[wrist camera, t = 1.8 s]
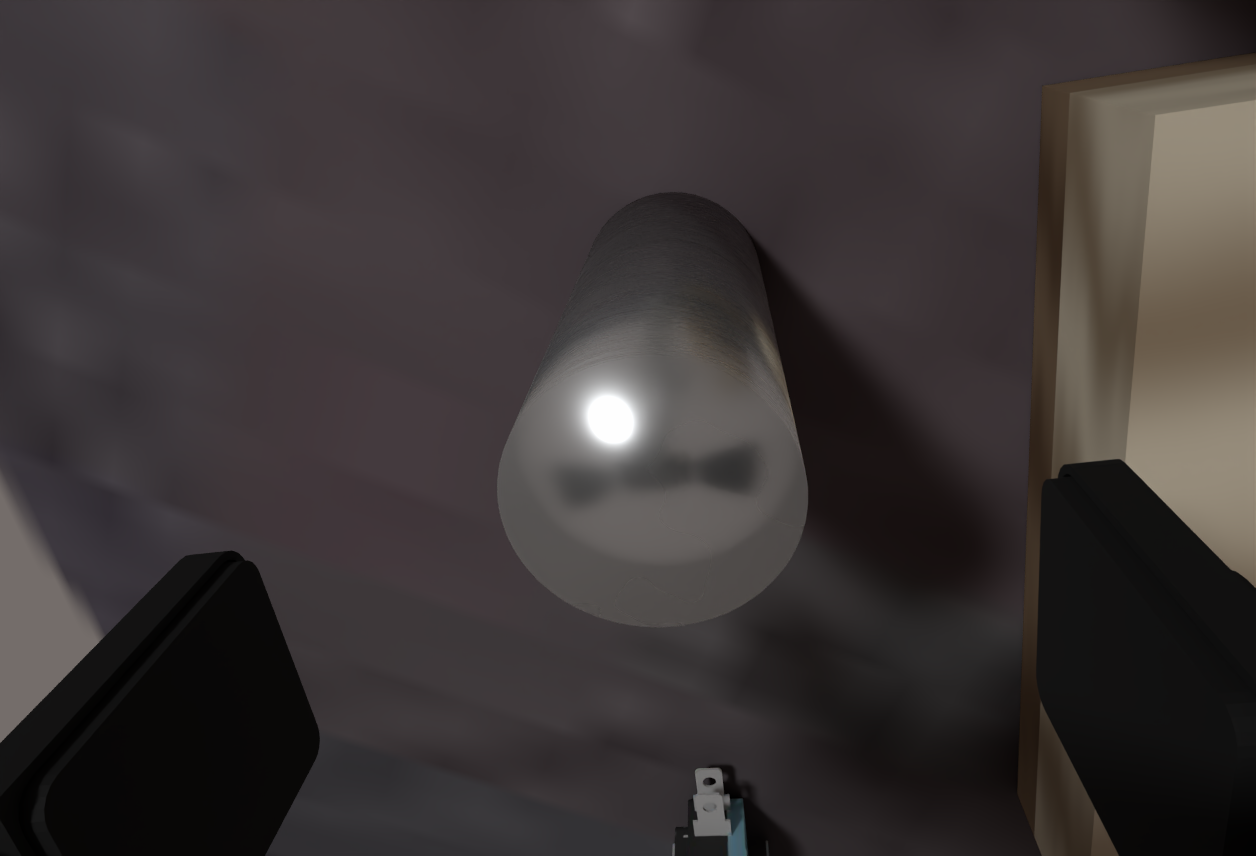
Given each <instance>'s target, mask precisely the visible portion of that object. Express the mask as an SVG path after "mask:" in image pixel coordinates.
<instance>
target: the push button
mask: <svg viewBox="0 0 1256 856" xmlns="http://www.w3.org/2000/svg"><path fill="white" fill-rule="evenodd" d="M695 776H696V784H697V791H698V793H697V794H696V795H693V799H694V800H689V801H688V827H676V829H675V843H673V854H672V856H748V846H747V835H746V825H745V814H744V804H743V798H739V799H730V796H729V794H724V787H723V778H722V770H721V769H720V768H698V769H697V770H695ZM707 777H711V778H714V779H715V780H716V783H715V784H714V785H706V784H704V783H703V780H704V779H705V778H707ZM766 853H767V856H769V847H768V841H766Z"/></svg>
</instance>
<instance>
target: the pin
mask: <svg viewBox="0 0 1256 856" xmlns="http://www.w3.org/2000/svg"><path fill="white" fill-rule="evenodd" d="M497 497H498V506H499V511H500V517H501V520H502V523H503V526H504V529H505V532H506V535H507V537H508V539H509V541H510V543H511V545H512V547H513V549H514V551H515V552H516V554H517V555H518V557H519V558H520V560H521V561H522V563H523V564H524V566H525V567H526V568H527V569H528V570H529V571H530V572H531V574H532V575H533V576H534V577H535V578H536V579H537V580H538V581H539V582H540V583H541V584H543V585H544V586H545V587H546V588H547V589H548V590H549V591H551V592H552V593H554V594H555V595H556V596H558V597H559V598H561V599H562V600H563V601H565V602H567V603H569V604H570V605H572V606H574V607H576V608H578V609H580V610H582V611H584V612H586V613H589V614H591V615H594V616H596V617H599V618H602V619H606V620H609V621H612V622H616V623H621V624H627V625H632V626H642V627H674V626H682V625H689V624H694V623H698V622H702V621H706V620H710V619H712V618H715V617H718V616H720V615H723V614H726V613H728V612H730V611H732V610H734V609H736V608H738V607H740V606H742V605H743V604H745V603H746V602H748V601H749V600H751V599H752V598H754V597H755V596H757V595H758V594H759V593H760V592H762V591H763V590H764V589H765V588H766V587H767V586H768V585H770V584H771V583H772V582H773V580H774V579H775V578H776V577H777V576H778V575H779V574H780V573H781V571H782V570H783V569H784V567H785V566H786V564H787V563H788V561H789V560H790V558H791V557H792V555H793V554H794V551H795V549H796V547H797V545H798V543H799V541H800V539H801V535H802V532H803V529H804V526H805V522H806V516H807V509H808V484H807V478H806V472H805V466H804V462H803V457H802V453H801V448H800V444H799V439H798V435H797V430H796V426H795V421H794V417H793V412H792V408H791V403H790V399H789V394H788V390H787V385H786V381H785V376H784V372H783V367H782V363H781V358H780V354H779V349H778V345H777V340H776V336H775V331H774V327H773V322H772V318H771V313H770V309H769V304H768V300H767V295H766V291H765V286H764V282H763V277H762V273H761V268H760V264H759V259H758V256H757V253H756V249H755V246H754V244H753V242H752V240H751V238H750V236H749V234H748V233H747V231H746V230H745V228H744V227H743V226H742V224H741V223H740V222H739V221H738V220H737V219H736V218H735V217H734V216H733V215H732V214H731V213H730V212H729V211H727V210H726V209H724V208H723V207H721V206H720V205H718V204H717V203H715V202H713V201H711V200H708V199H706V198H703V197H700V196H697V195H693V194H688V193H678V192H668V193H658V194H654V195H649V196H646V197H643V198H641V199H638V200H636V201H634V202H632V203H630V204H628V205H626V206H625V207H624V208H622V209H621V210H619V211H618V212H617V213H616V214H615V215H614V216H612V217H611V218H610V219H609V220H608V222H607V223H606V224H605V225H604V226H603V228H602V229H601V231H600V232H599V234H598V235H597V237H596V239H595V241H594V243H593V245H592V248H591V250H590V252H589V255H588V257H587V259H586V261H585V264H584V266H583V268H582V271H581V273H580V275H579V277H578V280H577V282H576V284H575V287H574V289H573V291H572V294H571V296H570V298H569V300H568V303H567V305H566V307H565V310H564V312H563V314H562V316H561V319H560V321H559V323H558V326H557V328H556V330H555V332H554V335H553V337H552V339H551V342H550V344H549V346H548V349H547V351H546V353H545V355H544V358H543V360H542V362H541V365H540V367H539V369H538V371H537V374H536V376H535V378H534V381H533V383H532V385H531V388H530V390H529V392H528V394H527V397H526V399H525V401H524V404H523V406H522V408H521V410H520V413H519V415H518V417H517V420H516V422H515V424H514V426H513V429H512V431H511V433H510V436H509V438H508V440H507V443H506V445H505V447H504V450H503V453H502V457H501V461H500V464H499V471H498V479H497Z"/></svg>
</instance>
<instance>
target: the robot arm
mask: <svg viewBox="0 0 1256 856" xmlns="http://www.w3.org/2000/svg"><path fill="white" fill-rule="evenodd" d="M1036 680H1037V687H1038V692H1039V696H1040V699H1041V702H1042V705H1043V707H1044V710H1045V712H1046V714H1047V715H1048V717H1049V719H1050V721H1051V723H1052V725H1053V727H1054V729H1055V731H1056V733H1057V735H1058V737H1059V739H1060V741H1061V743H1062V745H1063V747H1064V749H1065V751H1066V753H1067V755H1068V757H1069V759H1070V761H1071V763H1072V765H1073V767H1074V769H1075V770H1076V772H1077V774H1078V776H1079V778H1080V780H1081V782H1082V784H1083V786H1084V788H1085V790H1086V792H1087V794H1088V796H1089V798H1090V800H1091V802H1092V804H1093V806H1094V808H1095V810H1096V812H1097V814H1098V816H1099V818H1100V820H1101V822H1102V824H1103V826H1104V827H1105V829H1106V831H1107V833H1108V835H1109V837H1110V839H1111V841H1112V843H1113V845H1114V847H1115V849H1116V851H1117V853H1118V855H1119V856H1256V588H1255V587H1254V586H1253V585H1252V584H1251V583H1250V582H1249V581H1248V580H1247V579H1246V578H1245V577H1243V576H1242V575H1241V574H1239V573H1238V572H1236V571H1233V570H1231V569H1230V568H1229V567H1228V566H1227V565H1226V564H1225V563H1224V562H1223V561H1222V560H1221V559H1220V558H1219V557H1218V556H1217V555H1216V554H1215V553H1214V552H1213V551H1212V550H1211V549H1210V548H1209V547H1208V546H1207V545H1206V544H1205V543H1204V542H1203V541H1202V540H1201V539H1200V538H1199V537H1198V536H1197V535H1196V534H1195V533H1194V532H1193V531H1192V530H1191V529H1190V528H1189V527H1188V526H1187V525H1186V524H1185V523H1184V522H1183V521H1182V520H1181V519H1180V518H1179V517H1178V516H1177V515H1176V514H1175V513H1174V512H1173V511H1172V509H1171V508H1170V507H1169V506H1168V505H1167V504H1166V503H1165V502H1164V501H1163V500H1162V499H1161V498H1160V497H1159V496H1158V495H1157V494H1156V493H1155V492H1154V491H1153V490H1152V489H1151V488H1150V487H1149V486H1148V485H1147V484H1146V483H1145V482H1144V481H1143V480H1142V479H1141V478H1140V477H1139V476H1138V475H1137V474H1136V473H1135V472H1134V471H1133V470H1132V469H1131V468H1130V467H1129V466H1128V465H1127V464H1126V463H1125V462H1124V461H1122V460H1121V459H1112V460H1102V461H1092V462H1083V463H1073V464H1064V465H1063V466H1062V467H1061V468H1060V471H1059V474H1058V478H1054V479H1046V480H1045V481H1044V483H1043V486H1042V493H1041V523H1040V557H1039V590H1038V624H1037V657H1036ZM319 742H320V737H319V729H318V726H317V723H316V720H315V718H314V715H313V712H312V710H311V707H310V704H309V702H308V699H307V697H306V694H305V691H304V689H303V686H302V683H301V681H300V678H299V675H298V673H297V670H296V668H295V665H294V662H293V660H292V657H291V654H290V652H289V649H288V647H287V644H286V641H285V639H284V636H283V633H282V631H281V628H280V625H279V623H278V620H277V618H276V615H275V612H274V610H273V607H272V604H271V602H270V599H269V597H268V594H267V591H266V589H265V586H264V583H263V581H262V578H261V575H260V573H259V571H258V569H257V567H256V566H255V565H254V564H253V563H252V562H250V561H245V560H244V558H243V557H242V556H241V555H240V554H239V553H237V552H235V551H224V552H214V553H204V554H195V555H188V556H185V557H184V558H182V559H181V560H180V561H179V562H178V563H177V564H176V565H175V566H174V567H173V568H172V569H171V570H170V571H169V572H168V573H167V574H166V575H165V576H164V577H163V578H162V579H161V580H160V581H159V582H158V583H157V584H156V585H155V586H154V587H153V588H152V589H151V590H150V591H149V592H148V593H147V594H146V595H145V596H144V597H143V598H142V599H141V600H140V601H139V602H138V603H137V604H136V605H135V606H134V607H133V608H132V609H131V610H130V612H129V613H128V614H127V615H126V616H125V617H124V618H123V619H122V620H121V621H120V622H119V623H118V624H117V625H116V626H115V627H114V628H113V629H112V630H111V631H110V632H109V633H108V634H107V635H106V636H105V637H104V638H103V639H102V640H101V641H100V642H99V643H98V644H97V645H96V646H95V647H94V648H93V649H92V650H91V651H90V652H89V653H88V654H87V655H86V656H85V657H84V658H83V659H82V660H81V661H80V662H79V663H78V665H76V666H75V668H74V669H73V670H72V671H71V672H70V673H69V674H68V675H67V676H66V677H65V678H64V679H63V680H62V681H61V682H60V683H59V684H58V685H57V686H56V687H55V688H54V689H53V690H52V691H51V692H50V693H49V694H48V695H47V696H46V697H45V698H44V699H43V700H42V701H41V702H40V703H39V704H38V705H37V706H36V707H35V708H34V709H33V710H32V711H31V712H30V713H29V715H27V716H26V718H25V719H24V720H22V721H21V722H20V723H19V725H18V726H17V727H16V728H15V729H14V730H13V731H12V732H11V733H10V734H9V735H8V736H7V737H6V738H5V739H4V740H3V741H2V742H1V743H0V856H265V854H266V853H267V851H268V849H269V847H270V845H271V843H272V841H273V839H274V837H275V835H276V834H277V832H278V830H279V828H280V826H281V824H282V822H283V820H284V818H285V816H286V815H287V813H288V811H289V809H290V807H291V805H292V803H293V801H294V799H295V798H296V796H297V794H298V792H299V790H300V788H301V786H302V784H303V782H304V780H305V779H306V777H307V775H308V773H309V771H310V769H311V767H312V765H313V763H314V761H315V759H316V757H317V754H318V750H319Z"/></svg>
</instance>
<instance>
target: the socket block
mask: <svg viewBox="0 0 1256 856" xmlns="http://www.w3.org/2000/svg"><path fill="white" fill-rule="evenodd" d="M1112 459H1121V460H1122V461H1124V462H1125V463H1126V464H1127V465H1128V466H1129V467H1130V468H1131V469H1132V470H1133V471H1134V472H1135V473H1136V474H1137V475H1138V476H1139V477H1140V478H1141V479H1142V480H1143V481H1144V482H1145V483H1146V484H1147V485H1148V486H1149V487H1150V488H1151V489H1152V490H1153V491H1154V492H1155V493H1156V494H1157V495H1158V496H1159V497H1160V498H1161V499H1162V500H1163V501H1164V502H1165V503H1166V504H1167V505H1168V506H1169V507H1170V508H1171V509H1172V511H1173V512H1174V513H1175V514H1176V515H1177V516H1178V517H1179V518H1180V519H1181V520H1182V521H1183V522H1184V523H1185V524H1186V525H1187V526H1188V527H1189V528H1190V529H1191V530H1192V531H1193V532H1194V533H1195V534H1196V535H1197V536H1198V537H1199V538H1200V539H1201V540H1202V541H1203V542H1204V543H1205V544H1206V545H1207V546H1208V547H1209V548H1210V549H1211V550H1212V551H1213V552H1214V553H1215V554H1216V555H1217V556H1218V557H1219V558H1220V559H1221V560H1222V561H1223V562H1224V563H1225V564H1226V565H1227V566H1228V567H1229V568H1230V569H1231V570H1233V571H1236V572H1238V573H1239V574H1241V575H1242V576H1243V577H1245V578H1246V579H1247V580H1248V581H1249V582H1250V583H1251V584H1252V585H1253V586H1254V587H1255V588H1256V53H1249V54H1243V55H1236V56H1230V57H1224V58H1217V59H1211V60H1204V61H1198V62H1192V63H1185V64H1179V65H1172V66H1166V67H1160V68H1153V69H1147V70H1141V71H1134V72H1128V73H1121V74H1115V75H1109V76H1102V77H1096V78H1089V79H1083V80H1077V81H1070V82H1064V83H1057V84H1051V85H1045V86H1042V108H1041V136H1040V164H1039V193H1038V221H1037V249H1036V278H1035V306H1034V334H1033V362H1032V391H1031V419H1030V447H1029V476H1028V504H1027V532H1026V561H1025V589H1024V617H1023V645H1022V674H1021V702H1020V730H1019V759H1018V787H1017V795H1018V797H1019V800H1020V802H1021V805H1022V807H1023V810H1024V812H1025V815H1026V817H1027V820H1028V822H1029V825H1030V827H1031V830H1032V832H1033V835H1034V837H1035V840H1036V842H1037V845H1038V847H1039V850H1040V852H1041V855H1042V856H1119V855H1118V853H1117V851H1116V849H1115V847H1114V845H1113V843H1112V841H1111V839H1110V837H1109V835H1108V833H1107V831H1106V829H1105V827H1104V826H1103V824H1102V822H1101V820H1100V818H1099V816H1098V814H1097V812H1096V810H1095V808H1094V806H1093V804H1092V802H1091V800H1090V798H1089V796H1088V794H1087V792H1086V790H1085V788H1084V786H1083V784H1082V782H1081V780H1080V778H1079V776H1078V774H1077V772H1076V770H1075V769H1074V767H1073V765H1072V763H1071V761H1070V759H1069V757H1068V755H1067V753H1066V751H1065V749H1064V747H1063V745H1062V743H1061V741H1060V739H1059V737H1058V735H1057V733H1056V731H1055V729H1054V727H1053V725H1052V723H1051V721H1050V719H1049V717H1048V715H1047V714H1046V712H1045V710H1044V707H1043V705H1042V702H1041V699H1040V696H1039V692H1038V687H1037V680H1036V657H1037V624H1038V590H1039V557H1040V523H1041V493H1042V486H1043V483H1044V481H1045V480H1046V479H1054V478H1058V474H1059V471H1060V468H1061V467H1062V466H1063V465H1064V464H1073V463H1083V462H1092V461H1102V460H1112Z"/></svg>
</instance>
